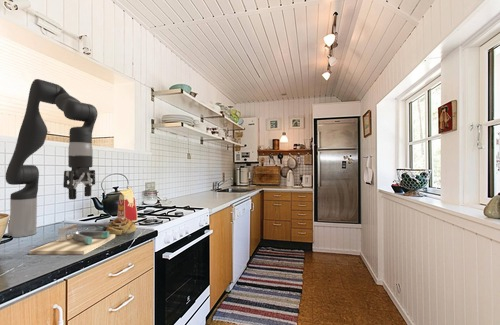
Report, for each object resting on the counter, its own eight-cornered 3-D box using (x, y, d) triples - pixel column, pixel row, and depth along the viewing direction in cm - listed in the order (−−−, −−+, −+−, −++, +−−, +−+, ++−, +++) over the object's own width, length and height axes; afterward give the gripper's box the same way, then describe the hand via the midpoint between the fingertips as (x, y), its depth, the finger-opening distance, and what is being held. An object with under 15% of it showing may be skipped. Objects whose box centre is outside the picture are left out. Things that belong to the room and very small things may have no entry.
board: (29, 254, 88) (29, 250, 89) (71, 237, 109) (71, 234, 110) (84, 254, 89) (84, 250, 89) (115, 237, 110) (115, 234, 110)
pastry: (103, 237, 110) (103, 220, 110) (108, 229, 124) (108, 214, 124) (135, 234, 115) (135, 218, 115) (136, 227, 129) (137, 212, 129)
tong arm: (72, 239, 101) (72, 233, 101) (76, 238, 102) (76, 233, 102) (87, 244, 95) (87, 238, 95) (91, 243, 96) (92, 237, 96)
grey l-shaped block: (58, 240, 99) (58, 228, 99) (70, 235, 107) (71, 224, 107) (65, 240, 99) (65, 228, 100) (77, 235, 107) (77, 224, 107)
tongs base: (70, 239, 102) (70, 232, 102) (75, 237, 105) (75, 230, 105) (105, 239, 102) (105, 232, 102) (109, 237, 105) (109, 230, 105)
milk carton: (131, 218, 148) (131, 186, 148) (138, 221, 142) (138, 187, 142) (115, 221, 141) (115, 187, 141) (122, 224, 135) (122, 188, 135)
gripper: (83, 155, 98) (82, 195, 98) (56, 154, 84) (55, 200, 84) (101, 155, 99) (101, 195, 98) (78, 154, 84) (77, 200, 84)
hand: (80, 197), depth 91 cm, fingers open, 8 cm apart
